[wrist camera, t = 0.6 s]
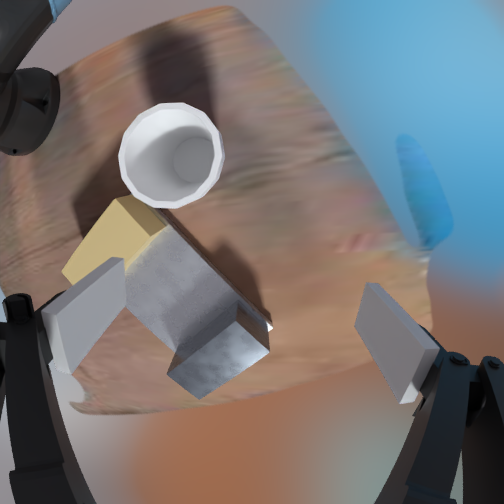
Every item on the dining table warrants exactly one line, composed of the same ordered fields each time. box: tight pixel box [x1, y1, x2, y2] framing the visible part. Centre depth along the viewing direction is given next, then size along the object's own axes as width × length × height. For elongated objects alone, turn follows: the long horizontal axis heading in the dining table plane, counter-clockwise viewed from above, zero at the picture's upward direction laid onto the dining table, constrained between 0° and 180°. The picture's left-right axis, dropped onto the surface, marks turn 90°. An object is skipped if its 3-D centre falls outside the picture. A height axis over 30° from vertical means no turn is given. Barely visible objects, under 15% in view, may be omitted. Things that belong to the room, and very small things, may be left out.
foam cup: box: [118, 103, 225, 209], centre depth 29 cm, size 10×9×13 cm
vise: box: [125, 193, 273, 399], centre depth 37 cm, size 26×14×8 cm, turn 42°
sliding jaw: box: [62, 194, 166, 285], centre depth 34 cm, size 6×13×6 cm, turn 132°
